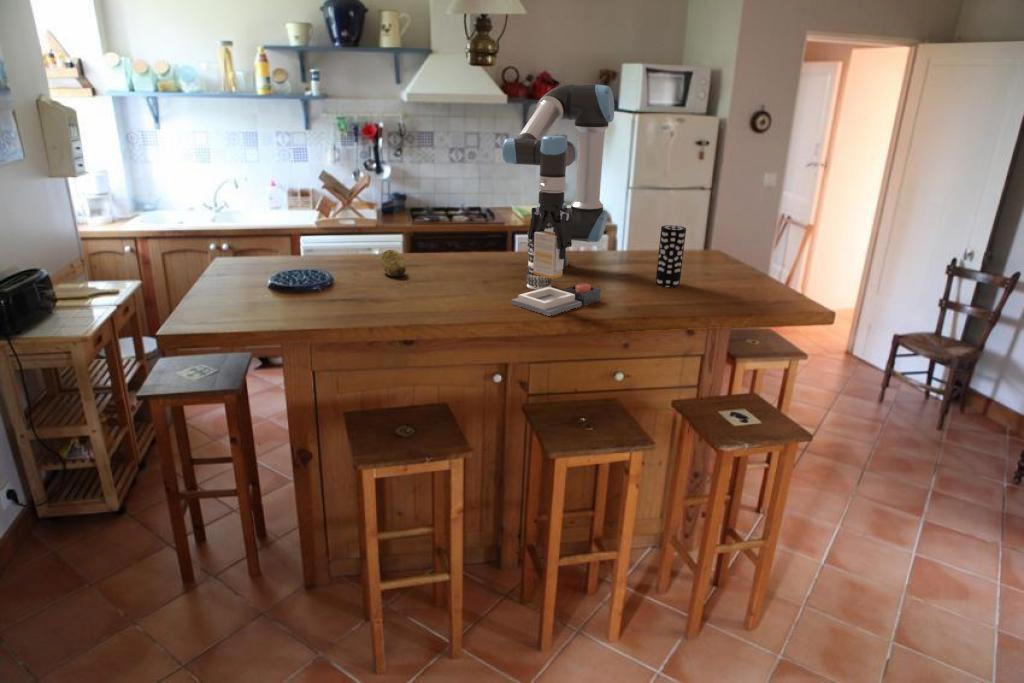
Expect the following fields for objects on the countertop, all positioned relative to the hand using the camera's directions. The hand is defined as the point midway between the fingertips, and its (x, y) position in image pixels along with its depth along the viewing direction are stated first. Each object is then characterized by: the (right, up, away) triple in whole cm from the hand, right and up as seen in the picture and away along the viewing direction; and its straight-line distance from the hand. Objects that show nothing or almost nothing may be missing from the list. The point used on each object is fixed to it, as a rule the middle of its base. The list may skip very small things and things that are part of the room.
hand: (548, 266), depth 206 cm
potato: (-53, +1, +34) cm, 63 cm away
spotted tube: (+43, -3, +31) cm, 53 cm away
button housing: (+11, -10, +10) cm, 18 cm away
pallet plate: (0, -12, +5) cm, 13 cm away
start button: (+11, -9, +10) cm, 17 cm away
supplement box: (0, -3, +1) cm, 3 cm away
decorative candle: (-2, -4, +24) cm, 25 cm away
